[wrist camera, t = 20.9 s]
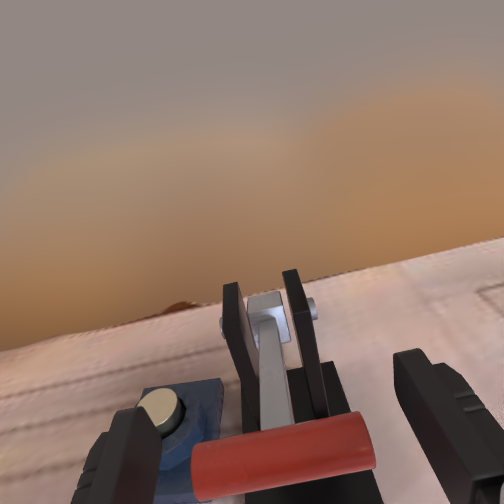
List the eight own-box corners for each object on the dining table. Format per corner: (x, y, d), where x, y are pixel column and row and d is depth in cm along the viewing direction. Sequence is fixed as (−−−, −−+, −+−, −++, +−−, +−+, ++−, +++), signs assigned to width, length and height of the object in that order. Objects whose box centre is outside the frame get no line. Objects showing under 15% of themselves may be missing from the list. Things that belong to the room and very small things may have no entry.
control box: (211, 501, 25) (197, 476, 23) (112, 510, 26) (91, 487, 24) (224, 387, 34) (214, 363, 32) (149, 397, 35) (136, 374, 33)
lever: (382, 493, 10) (368, 422, 9) (203, 526, 10) (182, 459, 10) (310, 317, 23) (303, 284, 22) (232, 335, 23) (224, 302, 23)
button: (178, 438, 27) (171, 424, 26) (136, 443, 27) (127, 430, 26) (187, 398, 30) (181, 385, 29) (149, 403, 30) (142, 390, 29)
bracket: (384, 514, 22) (373, 354, 15) (250, 538, 23) (177, 394, 15) (334, 369, 33) (313, 235, 25) (243, 388, 33) (198, 262, 26)
